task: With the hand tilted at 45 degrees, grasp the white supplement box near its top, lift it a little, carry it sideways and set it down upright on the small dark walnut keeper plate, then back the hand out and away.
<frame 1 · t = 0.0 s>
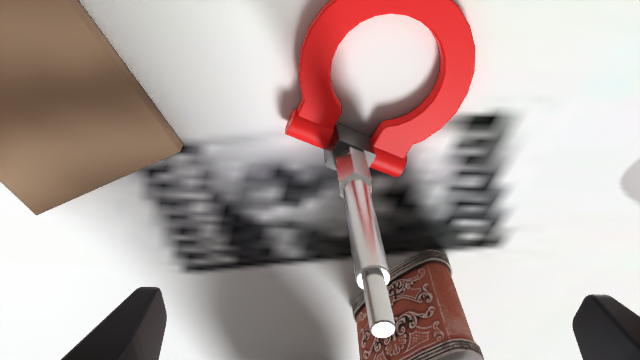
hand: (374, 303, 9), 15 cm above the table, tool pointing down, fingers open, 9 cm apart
walnut keeper plate: (45, 103, 22), on the table
tow hook: (379, 73, 22), on the table
lighter: (398, 284, 30), on the table
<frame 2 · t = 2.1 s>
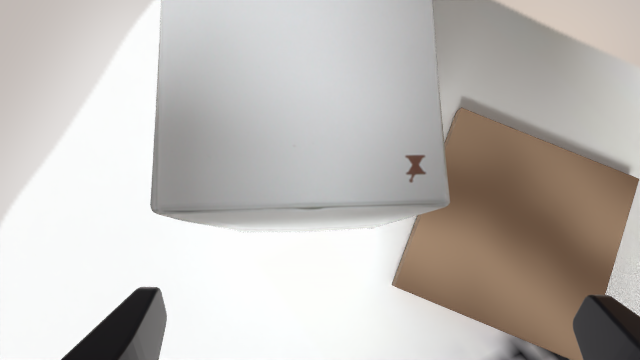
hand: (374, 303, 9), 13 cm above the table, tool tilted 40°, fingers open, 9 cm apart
walnut keeper plate: (512, 231, 23), on the table
supplement box: (303, 163, 23), on the table
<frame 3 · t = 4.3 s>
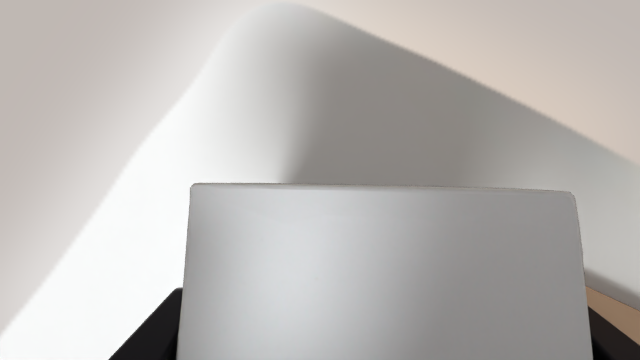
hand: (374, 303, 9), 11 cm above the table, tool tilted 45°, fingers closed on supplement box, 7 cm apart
supplement box: (337, 315, 20), on the table, touching gripper
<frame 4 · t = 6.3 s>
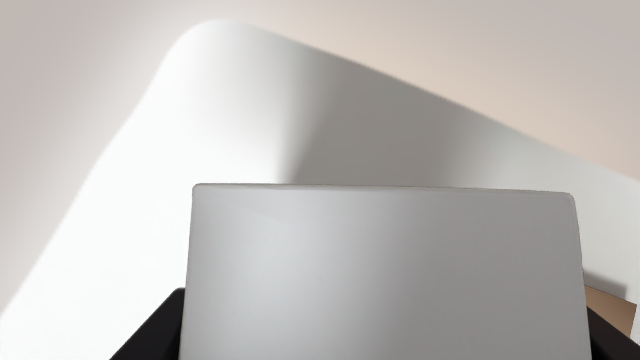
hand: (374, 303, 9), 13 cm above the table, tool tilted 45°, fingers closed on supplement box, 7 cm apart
supplement box: (333, 313, 20), point 2 cm above the table, touching gripper
when the fingers open (12 cm above the table, at t = 8.2 s): supplement box stays where it is, resting on walnut keeper plate.
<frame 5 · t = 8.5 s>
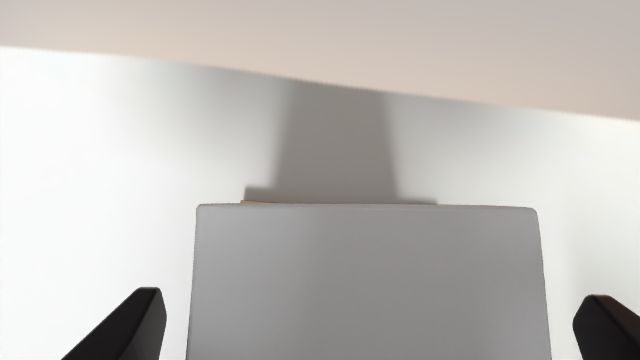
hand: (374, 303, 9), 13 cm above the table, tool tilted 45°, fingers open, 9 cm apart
supplement box: (333, 316, 21), point 1 cm above the table, touching walnut keeper plate
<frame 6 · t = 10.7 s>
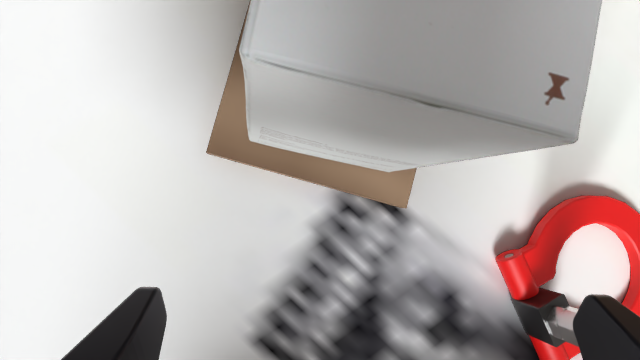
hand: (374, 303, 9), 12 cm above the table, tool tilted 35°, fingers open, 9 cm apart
walnut keeper plate: (333, 86, 22), on the table
tow hook: (577, 273, 24), on the table
supplement box: (333, 85, 21), point 1 cm above the table, touching walnut keeper plate
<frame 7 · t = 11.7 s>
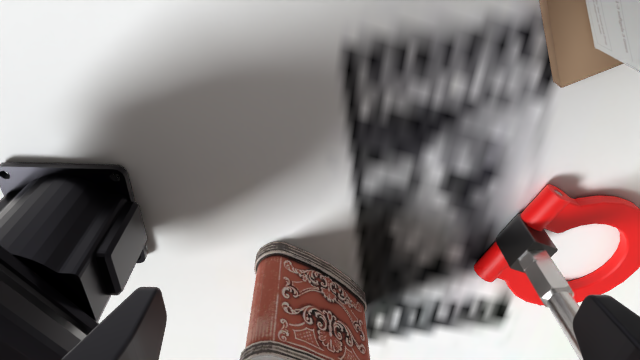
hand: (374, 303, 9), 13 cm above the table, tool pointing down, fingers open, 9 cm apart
tow hook: (563, 243, 26), on the table
lighter: (312, 276, 27), on the table
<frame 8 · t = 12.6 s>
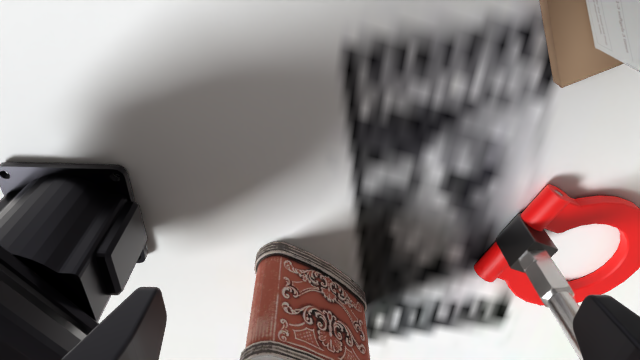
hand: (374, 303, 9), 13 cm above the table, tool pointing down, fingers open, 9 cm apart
tow hook: (563, 243, 26), on the table
lighter: (312, 276, 27), on the table
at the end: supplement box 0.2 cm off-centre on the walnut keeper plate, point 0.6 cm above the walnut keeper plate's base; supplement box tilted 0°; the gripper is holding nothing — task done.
